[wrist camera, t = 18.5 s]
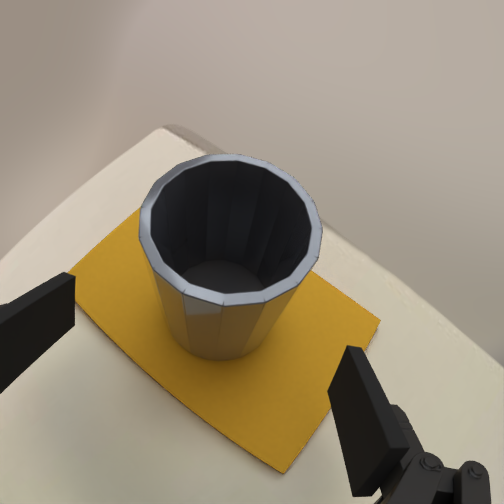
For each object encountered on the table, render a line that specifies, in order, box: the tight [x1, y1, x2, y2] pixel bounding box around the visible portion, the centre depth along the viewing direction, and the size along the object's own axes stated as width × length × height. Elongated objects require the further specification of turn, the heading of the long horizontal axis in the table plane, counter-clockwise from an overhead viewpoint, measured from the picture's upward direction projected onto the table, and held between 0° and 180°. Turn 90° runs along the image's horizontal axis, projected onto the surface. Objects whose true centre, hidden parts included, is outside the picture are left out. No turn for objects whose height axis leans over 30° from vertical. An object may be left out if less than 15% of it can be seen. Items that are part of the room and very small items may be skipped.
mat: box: [68, 207, 381, 474], centre depth 22 cm, size 20×13×1 cm, turn 54°
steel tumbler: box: [138, 154, 323, 361], centre depth 17 cm, size 7×7×10 cm
